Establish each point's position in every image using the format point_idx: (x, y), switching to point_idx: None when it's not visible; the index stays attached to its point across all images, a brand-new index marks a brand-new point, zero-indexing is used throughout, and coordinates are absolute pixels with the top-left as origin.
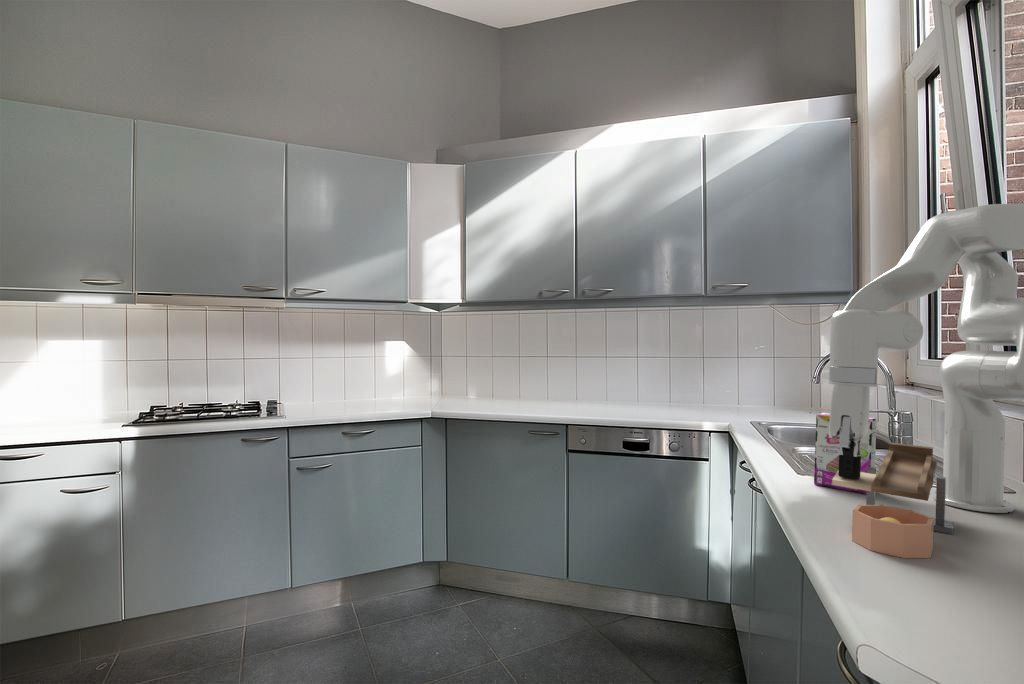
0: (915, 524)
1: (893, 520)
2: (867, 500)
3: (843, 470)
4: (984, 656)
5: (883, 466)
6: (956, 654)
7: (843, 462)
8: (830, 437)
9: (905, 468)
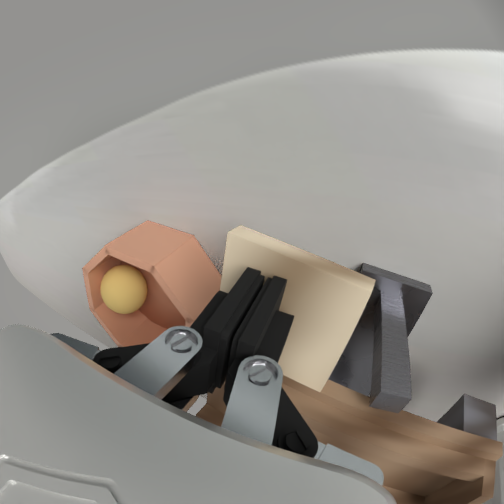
0: (104, 327)
1: (105, 303)
2: (379, 312)
3: (216, 294)
4: (16, 271)
5: (331, 431)
6: (9, 256)
7: (198, 316)
8: (31, 327)
9: (376, 461)
